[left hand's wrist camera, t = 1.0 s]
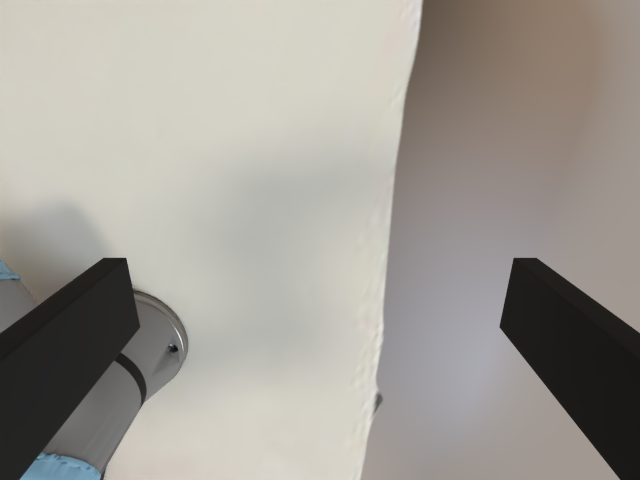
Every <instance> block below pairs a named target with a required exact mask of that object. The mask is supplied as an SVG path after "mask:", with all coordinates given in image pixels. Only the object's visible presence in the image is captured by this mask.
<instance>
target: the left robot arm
mask: <svg viewBox="0 0 640 480" xmlns="http://www.w3.org/2000/svg"><path fill="white" fill-rule="evenodd" d="M20 279H21V278H20V276H19V275H18V274H15V273H13V272H12V270H11V269H10V268H9V267H8V266H7V265H6V264H5V263H4V261H3V260H2V259H1V258H0V480H103V478H104V473H105V469H106V466H107V464H108V463H109V461H110V459H111V458H112V456H113V454H114V452H115V451H116V449H117V447H118V446H119V444H120V442H121V440H122V439H123V437H124V435H125V434H126V432H127V430H128V429H129V427H130V425H131V424H132V422H133V420H134V418H135V417H136V415H137V413H138V412H139V410H140V408H141V407H142V405H143V403H144V402H145V401H146V400H147V399H149V398H150V397H151V396H152V395H154V394H155V393H156V392H157V391H158V390H160V389H161V388H162V387H163V386H164V385H166V384H167V383H168V382H169V381H170V380H172V379H173V378H174V377H175V375H176V374H177V373H178V371H179V370H180V368H181V366H182V364H183V362H184V360H185V358H186V355H187V351H188V339H187V335H186V331H185V329H184V327H183V325H182V323H181V321H180V320H179V318H178V317H177V316H176V315H175V313H174V312H173V311H172V310H171V309H169V308H168V307H167V306H166V305H165V304H163V303H162V302H160V301H159V300H157V299H155V298H153V297H151V296H149V295H146V294H143V293H140V292H136V291H133V288H132V284H131V279H130V274H129V269H128V264H127V259H126V258H103V259H101V260H100V261H99V262H97V263H96V264H95V265H93V266H92V267H90V268H89V269H88V270H86V271H85V272H84V273H82V274H81V275H79V276H78V277H77V278H75V279H74V280H73V281H71V282H70V283H68V284H67V285H66V286H64V287H63V288H62V289H60V290H59V291H58V292H56V293H55V294H53V295H52V296H51V297H49V298H48V299H47V300H45V301H44V302H42V303H41V304H40V305H38V304H37V302H36V301H35V300H34V298H33V297H32V296H31V294H30V293H29V292H28V290H27V289H26V288H25V286H24V285H23V283H22V282H21V281H20ZM500 328H501V330H502V331H503V332H504V333H505V335H506V336H507V337H508V338H509V340H510V341H511V342H512V343H513V345H514V346H515V347H516V348H517V350H518V351H519V352H520V354H521V355H522V356H523V357H524V359H525V360H526V361H527V362H528V364H529V365H530V366H531V367H532V369H533V370H534V371H535V372H536V374H537V375H538V376H539V378H540V379H541V380H542V381H543V383H544V384H545V385H546V386H547V388H548V389H549V390H550V391H551V393H552V394H553V395H554V396H555V398H556V399H557V400H558V402H559V403H560V404H561V405H562V407H563V408H564V409H565V410H566V412H567V413H568V414H569V415H570V417H571V418H572V419H573V421H574V422H575V423H576V424H577V426H578V427H579V428H580V429H581V431H582V432H583V433H584V434H585V436H586V437H587V438H588V439H589V441H590V442H591V443H592V444H593V446H594V447H595V448H596V450H597V451H598V452H599V453H600V455H601V456H602V457H603V458H604V460H605V461H606V462H607V463H608V465H609V466H610V467H611V469H612V470H613V471H614V472H615V474H616V475H617V476H618V477H619V479H620V480H640V333H639V332H637V331H636V330H635V329H633V328H632V327H631V326H629V325H628V324H626V323H625V322H624V321H622V320H621V319H620V318H618V317H617V316H615V315H614V314H613V313H611V312H610V311H609V310H607V309H606V308H604V307H603V306H602V305H600V304H599V303H598V302H596V301H595V300H593V299H592V298H591V297H589V296H588V295H587V294H585V293H584V292H582V291H581V290H580V289H578V288H577V287H576V286H574V285H573V284H571V283H570V282H569V281H567V280H566V279H565V278H563V277H562V276H560V275H559V274H558V273H556V272H555V271H554V270H552V269H551V268H550V267H548V266H547V265H545V264H544V263H543V262H541V261H540V260H539V259H537V258H514V259H513V264H512V269H511V274H510V279H509V284H508V288H507V293H506V298H505V303H504V308H503V313H502V317H501V322H500Z"/></svg>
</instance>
